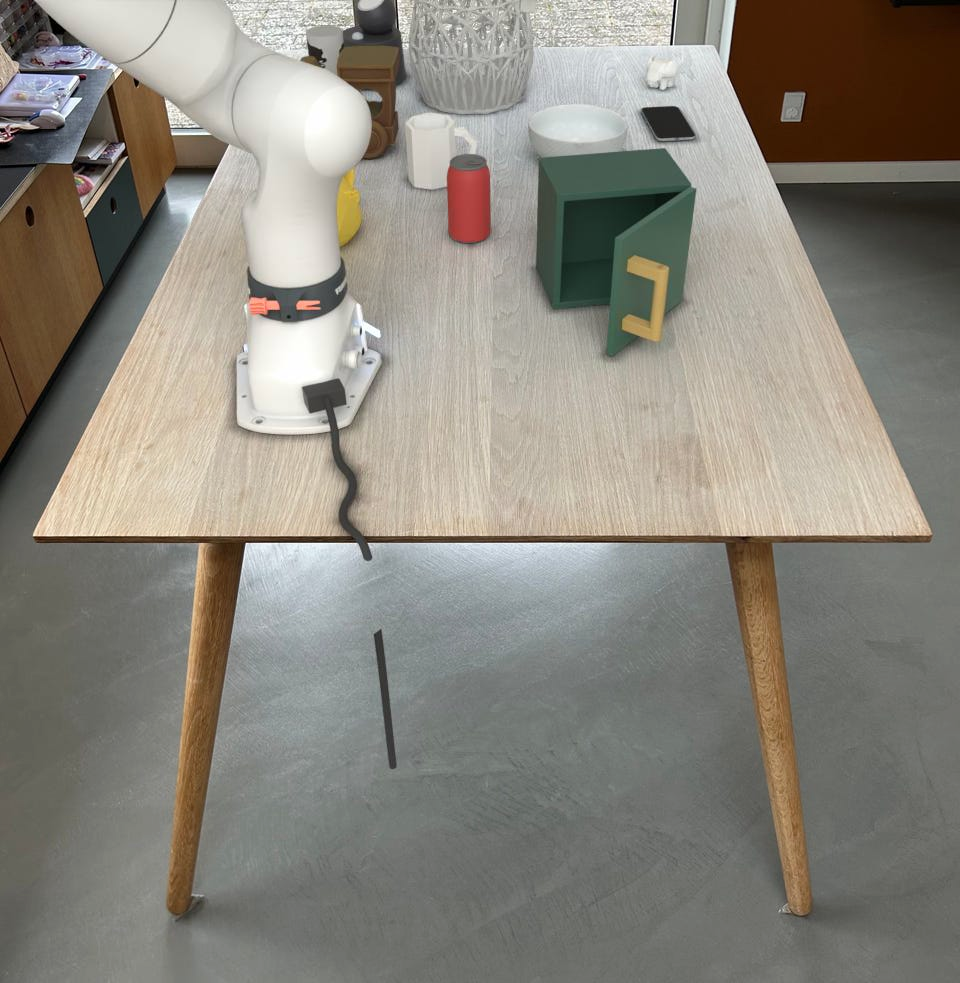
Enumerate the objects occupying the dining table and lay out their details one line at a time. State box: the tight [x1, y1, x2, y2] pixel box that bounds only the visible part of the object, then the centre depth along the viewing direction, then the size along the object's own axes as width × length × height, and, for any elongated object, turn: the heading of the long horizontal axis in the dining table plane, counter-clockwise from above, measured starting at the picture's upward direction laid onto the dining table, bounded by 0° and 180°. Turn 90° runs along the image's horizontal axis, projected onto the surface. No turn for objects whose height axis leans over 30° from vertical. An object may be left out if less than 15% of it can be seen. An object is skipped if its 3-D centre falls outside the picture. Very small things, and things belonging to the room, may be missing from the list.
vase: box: [408, 0, 535, 115], centre depth 199 cm, size 24×24×30 cm
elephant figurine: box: [645, 54, 679, 91], centre depth 209 cm, size 7×8×6 cm
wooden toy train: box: [300, 46, 400, 160], centre depth 184 cm, size 20×11×17 cm, turn 87°
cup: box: [305, 25, 344, 76], centre depth 198 cm, size 7×7×15 cm
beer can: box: [446, 153, 492, 244], centre depth 159 cm, size 7×7×12 cm
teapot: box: [337, 167, 363, 249], centre depth 159 cm, size 20×19×13 cm
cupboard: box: [535, 147, 692, 310], centre depth 146 cm, size 12×18×17 cm, turn 99°
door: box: [605, 186, 697, 358], centre depth 135 cm, size 6×18×17 cm, turn 142°
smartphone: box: [640, 105, 696, 142], centre depth 195 cm, size 7×1×15 cm
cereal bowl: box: [527, 103, 628, 158], centre depth 182 cm, size 17×17×7 cm
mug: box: [404, 112, 479, 191], centre depth 176 cm, size 12×9×10 cm
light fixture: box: [343, 0, 407, 91], centre depth 211 cm, size 13×16×14 cm
